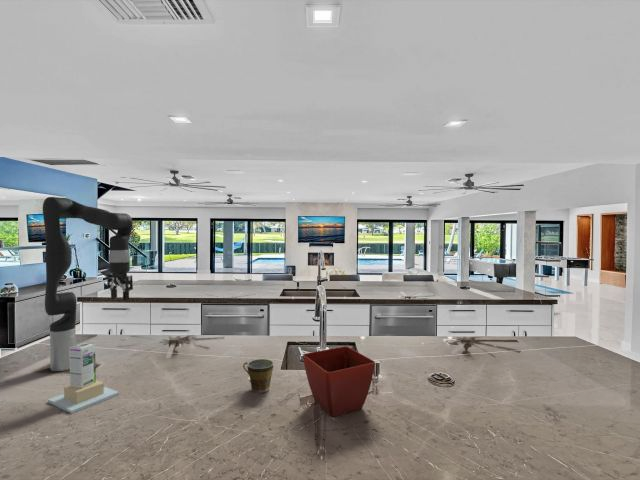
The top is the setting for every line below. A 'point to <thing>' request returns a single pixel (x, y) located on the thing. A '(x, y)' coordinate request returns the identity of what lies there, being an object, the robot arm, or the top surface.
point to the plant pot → (339, 379)
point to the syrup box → (82, 365)
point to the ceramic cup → (259, 374)
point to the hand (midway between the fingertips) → (119, 299)
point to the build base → (83, 404)
